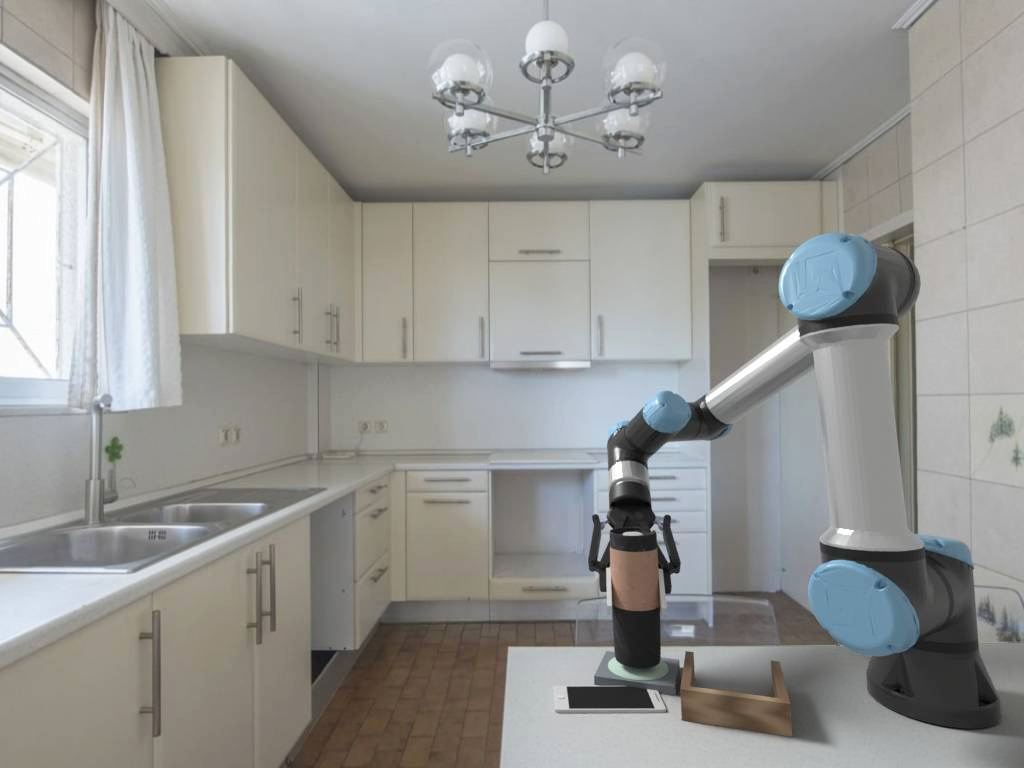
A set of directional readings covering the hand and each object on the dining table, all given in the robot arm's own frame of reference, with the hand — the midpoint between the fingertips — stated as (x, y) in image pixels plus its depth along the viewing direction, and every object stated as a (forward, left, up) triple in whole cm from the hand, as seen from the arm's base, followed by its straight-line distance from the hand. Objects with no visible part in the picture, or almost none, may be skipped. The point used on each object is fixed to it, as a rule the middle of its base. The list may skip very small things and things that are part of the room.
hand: (636, 611), depth 86 cm
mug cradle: (-13, +2, -11) cm, 17 cm away
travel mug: (+1, -3, -9) cm, 9 cm away
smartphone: (+4, +6, -12) cm, 14 cm away
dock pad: (+1, -3, -11) cm, 12 cm away
